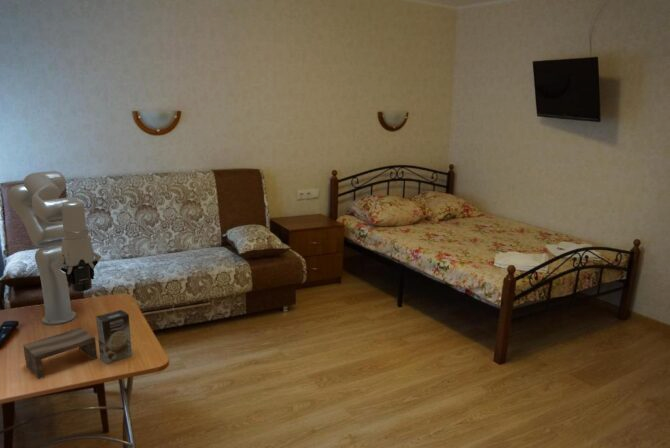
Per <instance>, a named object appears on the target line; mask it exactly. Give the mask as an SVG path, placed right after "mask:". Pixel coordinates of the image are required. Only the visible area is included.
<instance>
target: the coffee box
mask: <svg viewBox="0 0 670 448" xmlns="http://www.w3.org/2000/svg"><path fill="white" fill-rule="evenodd" d="M95 319H96V328H97V340H98V350H99V359H100V360H102V362H104V363H105V364H107V365H108V364H111V363H115V362H118V361H120V360H123V359H124V360H125V359H127V358H129V357H132V356H133V350H132V349H133V348H132V340H131V339H132V338H131V327H130V326H131V325H130V314H128V313H127V312H126V311H125V310H122V309H119V310H116V311H115V310H114V311H111V312H108V313H107V312H106V313H103V314H100V315H96V316H95Z"/></svg>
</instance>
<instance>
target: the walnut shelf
mask: <svg viewBox="0 0 670 448" xmlns="http://www.w3.org/2000/svg"><path fill="white" fill-rule="evenodd" d="M96 343H97V342H96V337H95V336H93V335H92V334H91V333H89V331H87V330H85V329H84V328H83V327H78V328H75V329H71V330H68V331H64V332H62V333H58V334H55V335H52V336H48V337H45V338H42V339H39V340H36V341H32V342H29V343H25V344H23V345H22V347H23V352H24V353H23V354H24V360H25V365H26V367H27V368H28V369H29V370H30V372H31V373H32V374H34V376H35V377H37V379H38V380H39V379H43V378H44V377H45V375H44V374H45V373H44V367H43V359H47V358H49V357H53V356H56V355H59V354H62V353H65V352H68V351H71V350H74V349H77V348H78V350H80V351H81V352H82V353H84V354H85V356H87V357H88V358H90V359H91V360H93V361H94V360H96V359H98V351H97V344H96Z"/></svg>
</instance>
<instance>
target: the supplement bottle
mask: <svg viewBox="0 0 670 448" xmlns="http://www.w3.org/2000/svg"><path fill="white" fill-rule="evenodd" d="M85 263H86V262H85V261H83V259H82V260H80V261H79V263H78V265H77V266H73V268H72V271H71V273H72V274H73V282H74V283H73V284H70V285H71V290H72V291H74V292H85V291H89V290H90V289H91V288H92V287H93V285H92V284H93V283H92V282H93V281H92V279H91V271H90V266H89V264H85Z"/></svg>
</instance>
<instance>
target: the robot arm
mask: <svg viewBox="0 0 670 448" xmlns="http://www.w3.org/2000/svg"><path fill="white" fill-rule="evenodd" d="M66 184H67V183H66V178H65V176H64V175H63V174H62V173H61V172H59V171H56V170H50V171H39V172H32V173H29V174H27V175H26V176H25V177H24V179H23V183H21V184H20V183H19V184H16V185H14V186H12V187H10V188H9V190H8V193H7V194H8V199H9V202H10V205H11V207H12V209H13V210H14V212H15V213H16V214H17V215H18V217H19V218H20V219H21V220H22V223H23V225H24V227H25V229H26V232H27V234H28V236H29V238H30V241H31V243H32V244H33V246H35V247H38V248H39V249H37V250H36V252H35V253H34V259H35V264H36V267H37V269H38V273H39V277H40V285H41V291H42V299H43V306H44V307H43V308H44V311H45V312H44V316H43V317H42V318H41V323H43V324H44V325H50V326H52V325H60V324H62V325H63V324H65V323H68V322H71V321H73V320H74V319H75V318H76V317H77V312H76V311H73V310H72V307H71V297H70V292H69V291H70V290H69V289H70V288H69V284H70V285H71V284H73V283H74V282H73V274H72V273H71V271H72V268H73V266H77V265H78V263H79V261H80V260H82V259H83V261H85V262H86V263H85V264H89V266H90V271H91V280H95V269H96V266H97V265H98V264H99V261H100V260H101V258H102V256H101V255H99V254H98V253H96V252H94V248H93V244H92V241H91V238H90V236H89V234H91V232H92V230H91V229H90V228H89V229H88V228H87V222H86V212H85V205H84V202H83V201H81V200H79V199H78V198H76V197H72V196H70V197H63V198H61V197H60V196H61V194H62V193H63V192H64V190H65V189H66Z"/></svg>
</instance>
